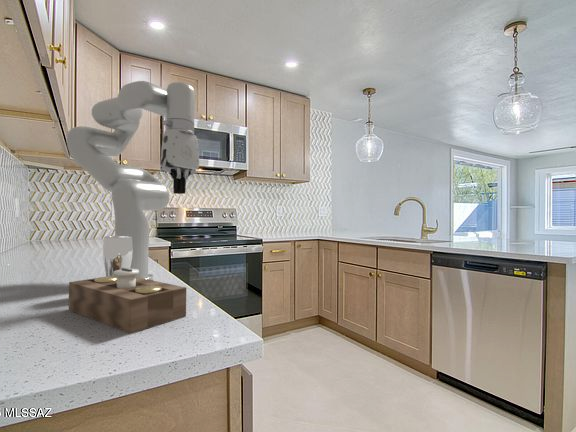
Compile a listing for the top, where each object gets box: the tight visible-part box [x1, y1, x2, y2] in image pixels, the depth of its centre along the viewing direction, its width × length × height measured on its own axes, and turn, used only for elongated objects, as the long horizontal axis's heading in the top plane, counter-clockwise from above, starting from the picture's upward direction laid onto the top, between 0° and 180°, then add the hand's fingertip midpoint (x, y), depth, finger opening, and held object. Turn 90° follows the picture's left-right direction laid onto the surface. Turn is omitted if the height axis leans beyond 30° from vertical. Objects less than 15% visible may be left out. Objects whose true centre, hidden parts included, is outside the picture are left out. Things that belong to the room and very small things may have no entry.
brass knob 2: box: [135, 286, 162, 295], centre depth 64 cm, size 5×5×6 cm
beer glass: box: [102, 235, 133, 277], centre depth 85 cm, size 7×7×15 cm
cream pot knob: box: [114, 268, 139, 289], centre depth 69 cm, size 5×5×6 cm
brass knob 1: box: [93, 276, 117, 284], centre depth 73 cm, size 5×5×6 cm
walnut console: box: [68, 276, 187, 334], centre depth 69 cm, size 24×12×6 cm, turn 57°
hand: (179, 193), depth 92 cm, fingers closed
